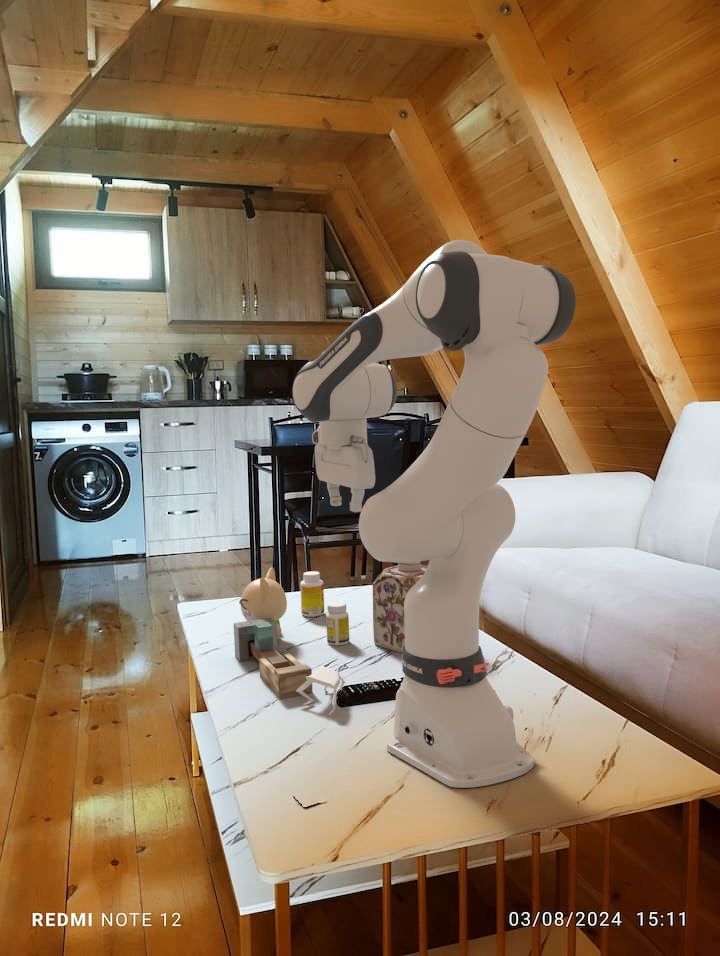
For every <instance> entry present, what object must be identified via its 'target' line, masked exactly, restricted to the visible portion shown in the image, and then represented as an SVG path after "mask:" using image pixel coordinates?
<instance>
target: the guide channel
mask: <svg viewBox="0 0 720 956" xmlns="http://www.w3.org/2000/svg"><path fill="white" fill-rule="evenodd" d="M283 657H284V658H285V659H286V660H287V661H288V667H284V668H279V669H276V668H275V667H274V666H273V665H272V664H271V663H270V662H269V661H268V660H267V659H266V658H261V659H259V661H258V662H259V678H260V679H261V681H263V682H264V683H265V684H266V685H267V686H268V688H269V689H271V691H272V692H273V693H274V694H275V695H276V696H277V697H278V698H279V699H280V700H282V699H287V698H293V697H298V696H302V695H301V694H300V693H298V692H297V691H296V690H297V689H298V688H299V687H300V686H301V685H302V684H304V683H305V682H306V681H307V680H306V676H310V675H311V674H313V671H312V668H311V667H310V666H309V665H308V664H307V663H301V662H300V661H299V660H298V659H296V658H295V656H293V655H292V654H291V653H286V654H283ZM303 692H304V693H305V694H307V695H308V694H313V683H312V684H311V685H309V686H308V687H307V688H306V689H305V690H303Z"/></svg>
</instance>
